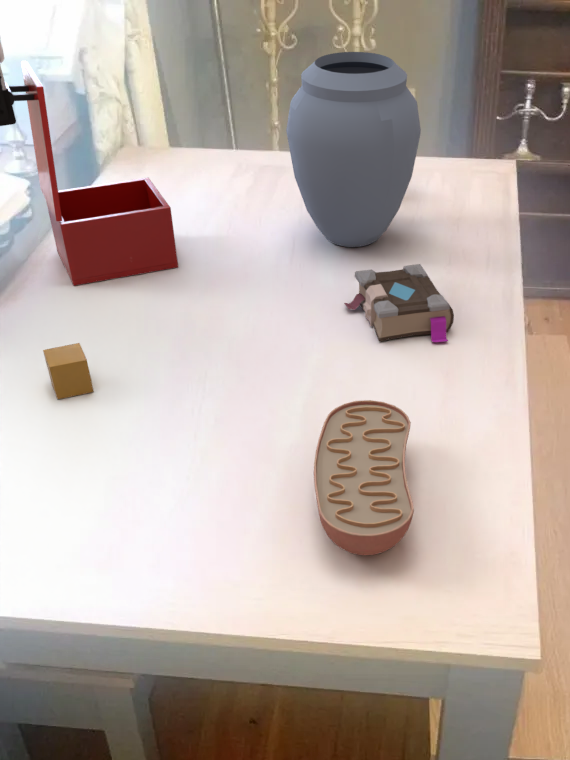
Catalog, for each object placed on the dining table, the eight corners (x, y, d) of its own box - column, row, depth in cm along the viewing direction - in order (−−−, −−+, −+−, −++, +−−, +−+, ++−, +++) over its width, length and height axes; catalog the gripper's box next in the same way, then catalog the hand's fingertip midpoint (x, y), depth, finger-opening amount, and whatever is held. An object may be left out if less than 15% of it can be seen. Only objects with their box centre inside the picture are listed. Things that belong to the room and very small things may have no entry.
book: (331, 286, 129) (331, 251, 126) (412, 276, 131) (414, 242, 128) (369, 354, 116) (370, 318, 112) (458, 342, 118) (462, 306, 114)
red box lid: (26, 60, 120) (-15, 61, 118) (43, 86, 112) (-2, 88, 110) (46, 189, 131) (8, 191, 129) (62, 221, 123) (22, 224, 121)
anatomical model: (412, 576, 86) (415, 536, 82) (308, 573, 86) (307, 534, 83) (407, 438, 102) (409, 400, 99) (320, 436, 102) (319, 398, 99)
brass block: (57, 399, 108) (49, 367, 105) (51, 381, 111) (42, 349, 108) (94, 392, 109) (86, 359, 106) (86, 374, 112) (79, 342, 109)
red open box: (156, 235, 142) (148, 177, 136) (178, 267, 134) (170, 207, 127) (57, 251, 137) (44, 192, 131) (73, 286, 129) (60, 224, 123)
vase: (318, 206, 150) (315, 38, 133) (429, 223, 145) (442, 51, 128) (270, 252, 137) (260, 73, 120) (390, 273, 132) (398, 89, 115)
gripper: (-84, -61, 109) (-37, 103, 122) (-71, -34, 98) (-21, 143, 111) (-21, -66, 111) (19, 95, 124) (-1, -41, 100) (40, 133, 113)
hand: (0, 116), depth 117 cm, fingers closed on red box lid, 5 cm apart
